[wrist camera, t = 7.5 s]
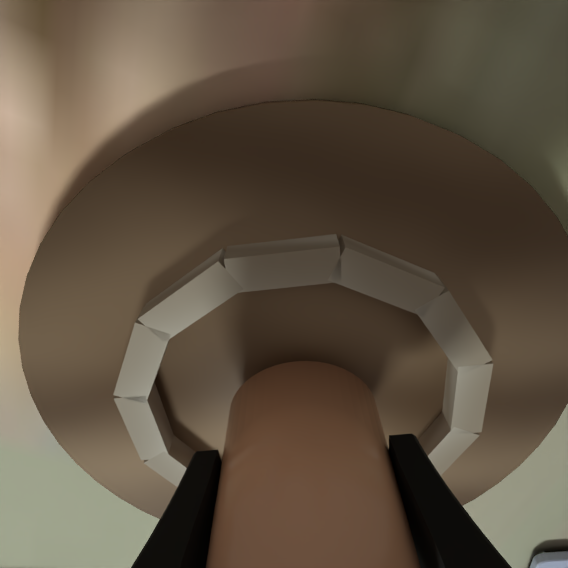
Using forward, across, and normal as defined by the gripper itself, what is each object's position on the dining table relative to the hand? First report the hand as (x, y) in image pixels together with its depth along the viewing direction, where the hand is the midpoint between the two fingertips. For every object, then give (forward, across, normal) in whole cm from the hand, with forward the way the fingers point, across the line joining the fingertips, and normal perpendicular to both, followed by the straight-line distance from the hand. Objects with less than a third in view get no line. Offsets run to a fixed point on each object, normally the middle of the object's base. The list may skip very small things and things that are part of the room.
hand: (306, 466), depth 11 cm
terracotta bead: (+2, 0, 0) cm, 2 cm away
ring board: (+3, 0, 0) cm, 3 cm away
